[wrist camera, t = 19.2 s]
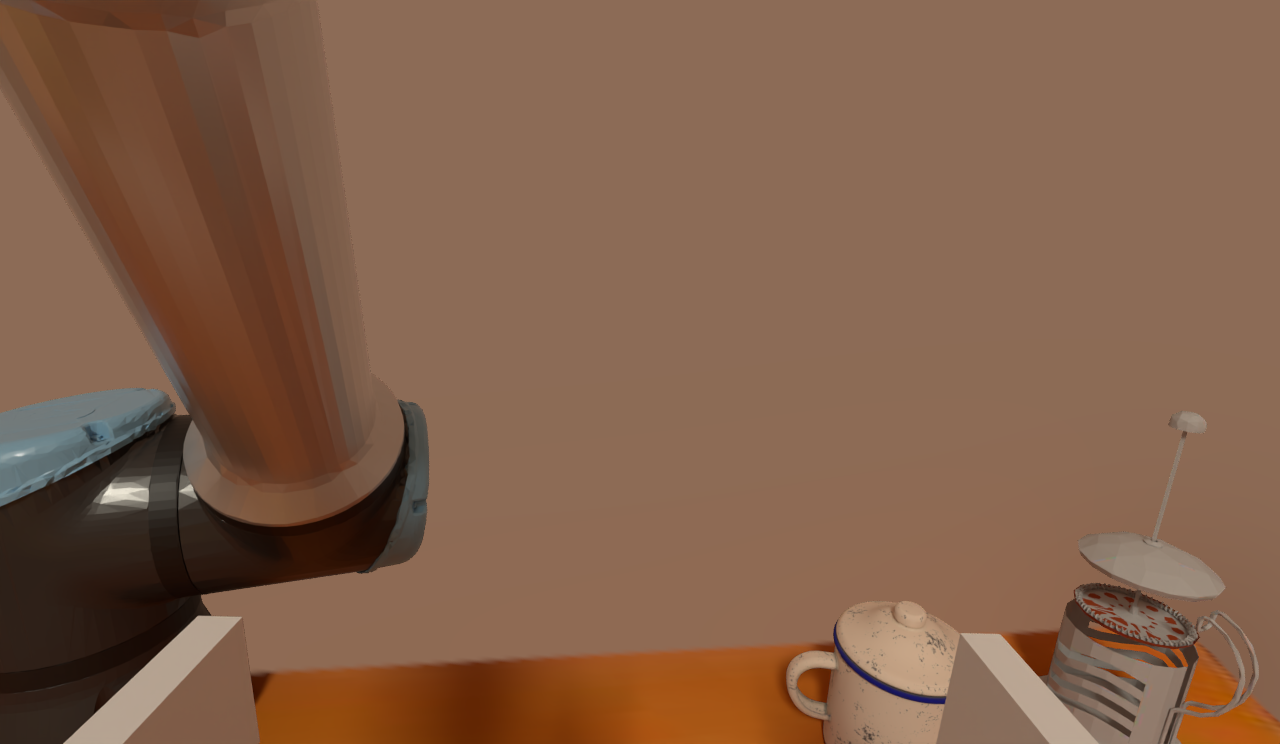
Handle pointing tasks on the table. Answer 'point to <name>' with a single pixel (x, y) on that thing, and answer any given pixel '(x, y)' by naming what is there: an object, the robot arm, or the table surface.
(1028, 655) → the table surface
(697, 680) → the table surface
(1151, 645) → the french press
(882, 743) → the teacup with lid
